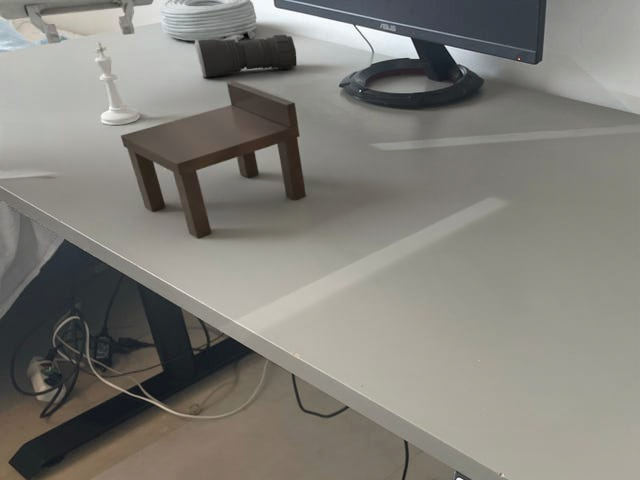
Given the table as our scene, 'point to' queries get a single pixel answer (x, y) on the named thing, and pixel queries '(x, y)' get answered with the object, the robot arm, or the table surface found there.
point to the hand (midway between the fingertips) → (92, 36)
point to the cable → (208, 19)
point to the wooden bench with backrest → (216, 149)
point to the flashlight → (245, 55)
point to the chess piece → (113, 93)
